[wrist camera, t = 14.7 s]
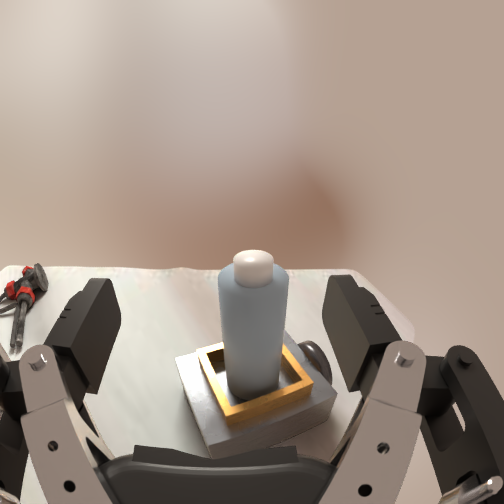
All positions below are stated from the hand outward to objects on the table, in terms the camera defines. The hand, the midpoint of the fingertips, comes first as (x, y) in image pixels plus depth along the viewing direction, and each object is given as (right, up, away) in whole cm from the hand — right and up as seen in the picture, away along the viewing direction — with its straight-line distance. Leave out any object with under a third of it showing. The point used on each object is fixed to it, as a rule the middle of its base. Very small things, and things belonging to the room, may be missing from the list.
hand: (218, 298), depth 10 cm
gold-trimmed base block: (+1, -17, +21) cm, 27 cm away
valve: (-48, -11, +34) cm, 59 cm away
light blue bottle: (+1, -12, +18) cm, 22 cm away
